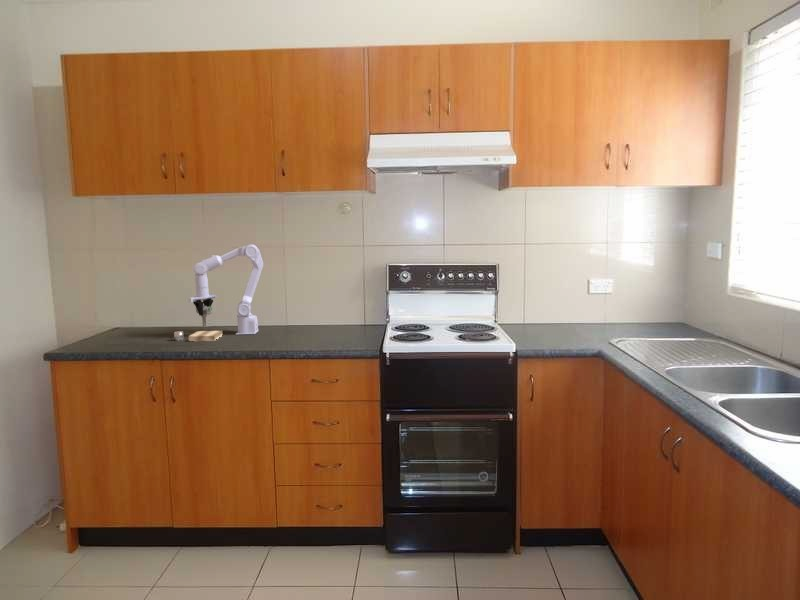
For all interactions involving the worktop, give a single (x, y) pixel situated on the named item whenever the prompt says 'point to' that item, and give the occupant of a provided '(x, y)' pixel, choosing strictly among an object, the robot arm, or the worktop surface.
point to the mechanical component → (205, 313)
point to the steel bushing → (178, 335)
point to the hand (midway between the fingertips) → (204, 314)
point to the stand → (205, 336)
